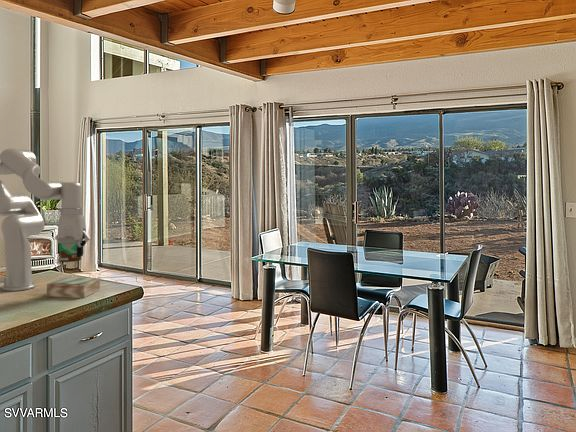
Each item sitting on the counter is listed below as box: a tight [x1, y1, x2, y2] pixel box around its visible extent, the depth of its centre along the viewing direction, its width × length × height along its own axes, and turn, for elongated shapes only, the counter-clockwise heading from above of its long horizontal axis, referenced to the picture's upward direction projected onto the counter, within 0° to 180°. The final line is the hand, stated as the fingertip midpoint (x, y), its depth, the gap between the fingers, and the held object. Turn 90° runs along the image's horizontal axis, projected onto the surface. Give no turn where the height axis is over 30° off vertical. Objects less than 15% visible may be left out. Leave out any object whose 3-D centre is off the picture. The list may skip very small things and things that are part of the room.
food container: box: [57, 237, 85, 263], centre depth 191 cm, size 12×6×10 cm, turn 169°
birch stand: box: [46, 276, 101, 299], centre depth 192 cm, size 16×12×5 cm
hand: (73, 255), depth 191 cm, fingers closed on food container, 5 cm apart
